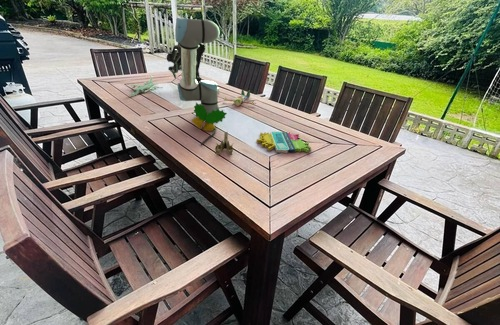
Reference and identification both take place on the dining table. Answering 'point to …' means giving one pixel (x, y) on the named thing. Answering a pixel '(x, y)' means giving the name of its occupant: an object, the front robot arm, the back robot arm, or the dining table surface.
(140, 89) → the airplane
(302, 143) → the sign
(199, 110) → the ornament
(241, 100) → the toy
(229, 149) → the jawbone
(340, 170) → the dining table surface
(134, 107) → the dining table surface
